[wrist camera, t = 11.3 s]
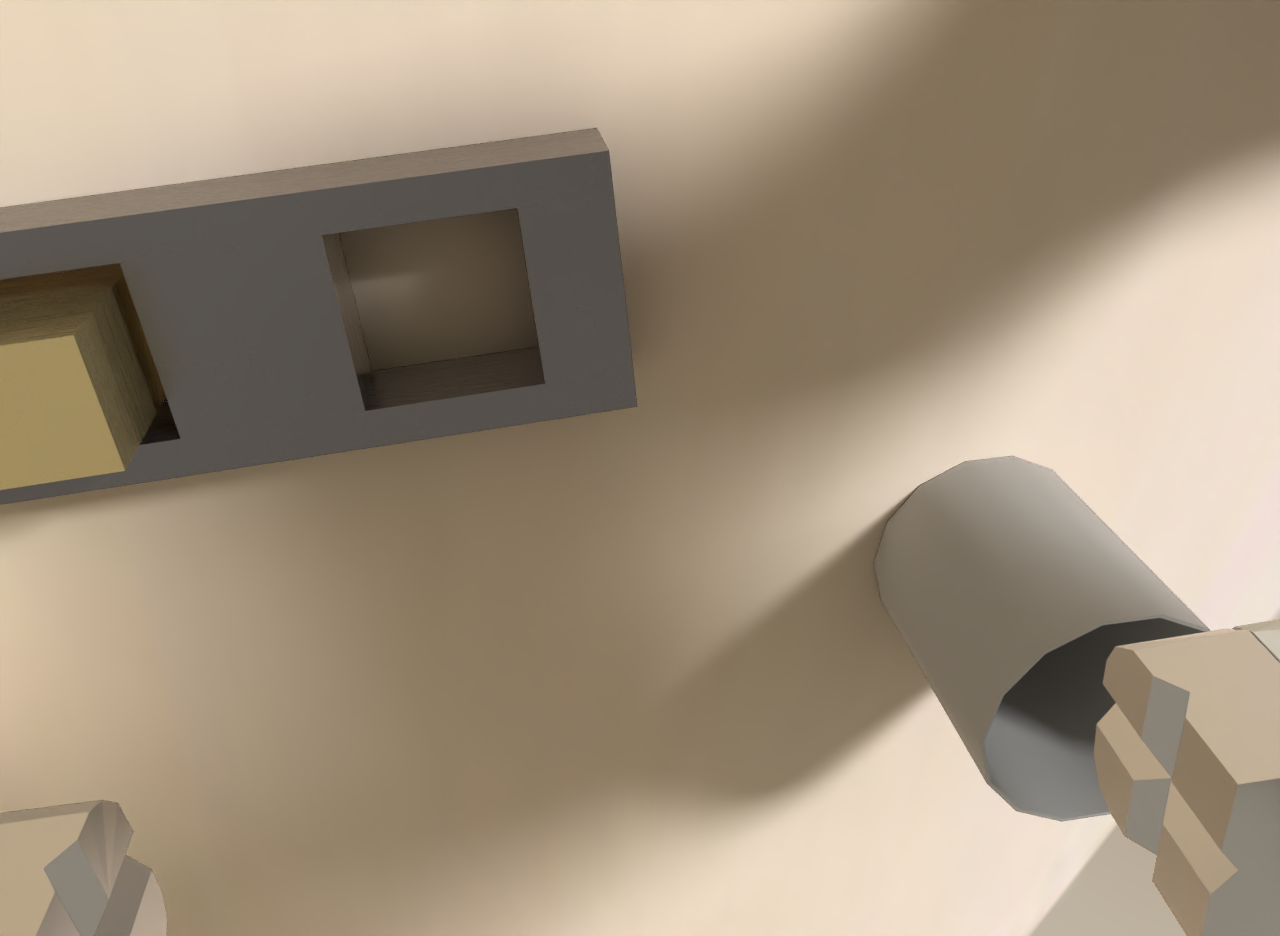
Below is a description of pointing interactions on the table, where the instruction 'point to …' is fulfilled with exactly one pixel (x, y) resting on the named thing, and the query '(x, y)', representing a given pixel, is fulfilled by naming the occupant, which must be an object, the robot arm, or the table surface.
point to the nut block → (72, 376)
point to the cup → (1020, 622)
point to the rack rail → (339, 302)
